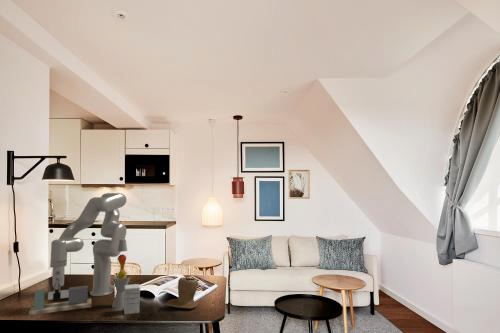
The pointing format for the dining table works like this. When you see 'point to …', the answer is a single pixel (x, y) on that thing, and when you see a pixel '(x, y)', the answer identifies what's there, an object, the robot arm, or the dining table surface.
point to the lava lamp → (120, 277)
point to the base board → (59, 307)
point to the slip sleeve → (78, 295)
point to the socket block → (39, 299)
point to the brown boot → (185, 294)
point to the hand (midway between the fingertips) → (56, 299)
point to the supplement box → (131, 298)
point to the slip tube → (63, 294)
